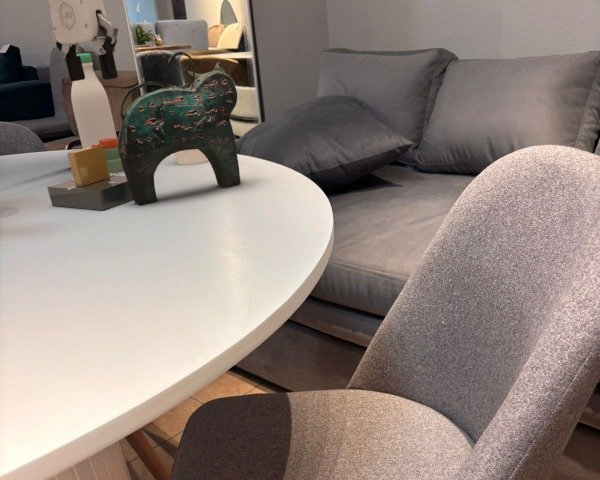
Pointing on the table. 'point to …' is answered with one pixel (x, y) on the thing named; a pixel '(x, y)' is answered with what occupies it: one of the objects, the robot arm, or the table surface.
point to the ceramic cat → (179, 129)
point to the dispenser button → (109, 143)
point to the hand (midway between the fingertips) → (94, 79)
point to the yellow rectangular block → (88, 165)
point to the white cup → (190, 157)
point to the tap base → (91, 193)
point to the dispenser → (113, 160)
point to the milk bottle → (91, 106)
